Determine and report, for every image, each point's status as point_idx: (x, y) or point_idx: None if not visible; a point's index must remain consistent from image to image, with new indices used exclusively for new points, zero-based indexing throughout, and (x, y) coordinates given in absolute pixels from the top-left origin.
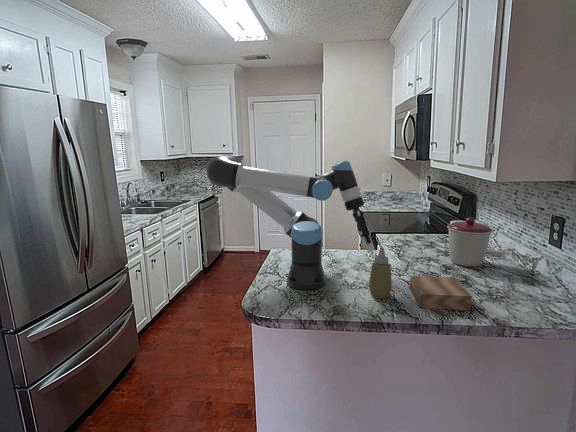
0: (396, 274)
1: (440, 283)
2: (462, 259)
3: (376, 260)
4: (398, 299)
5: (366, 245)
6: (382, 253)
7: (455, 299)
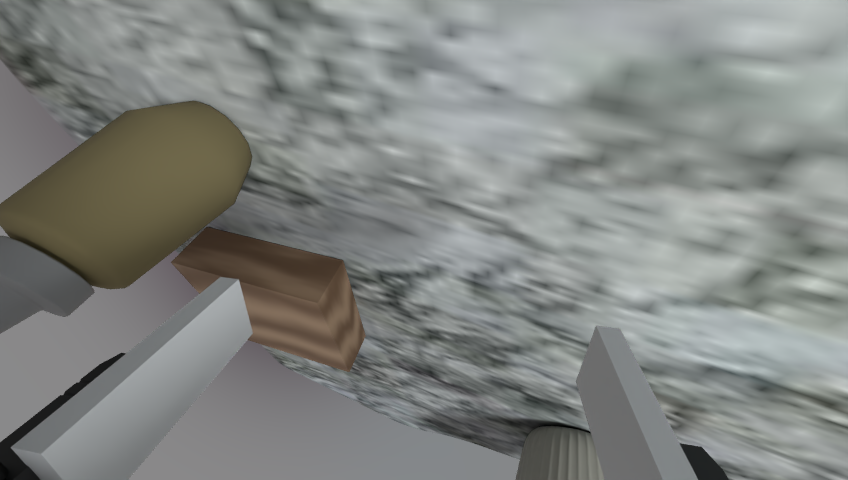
0: (486, 278)
1: (286, 331)
2: (537, 447)
3: None
4: None
5: (162, 330)
6: None
7: None
